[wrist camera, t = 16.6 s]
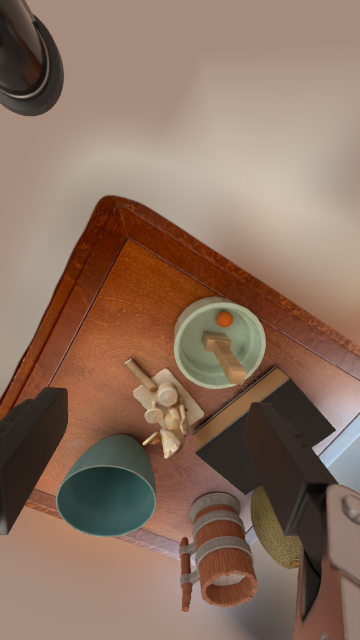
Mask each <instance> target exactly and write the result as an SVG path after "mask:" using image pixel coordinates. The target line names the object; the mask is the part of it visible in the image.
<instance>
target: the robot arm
mask: <svg viewBox="0 0 360 640" xmlns="http://www.w3.org/2000/svg"><path fill="white" fill-rule="evenodd" d="M50 74H51V62H50V56H49V52H48V49H47V47H46V44H45V42H44V40H43V39H42V37H41V35H40V33H39V25H38V23H37V21H36V19H35V18H34V16H33V14H32V12H31V10H30V8H29V6H28V5H27V3H26V1H25V0H0V91H1V92H2V93H4V94H5V95H7V96H9V97H11V98H13V99H16V100H21V101H27V100H32V99H34V98H36V97H38V96H39V95H40V94H42V92H43V91H44V90H45V89H46V87H47V85H48V82H49V79H50ZM67 424H68V392H67V389H66V388H54V387H45V388H44V389H43V390H42V391H41V392H40V393H39V394H38V395H37V396H36V398H35V399H34V400H33V399H27V400H26V401H24V402H22V403H21V404H19V405H17V406H16V407H14V408H13V409H12V410H11V411H10V412H9V413H8V414H7V415H6V416H5V417H4V418H3V419H2V421H0V535H8V533H9V531H10V530H11V528H12V526H13V524H14V523H15V521H16V519H17V517H18V516H19V514H20V512H21V510H22V509H23V507H24V505H25V503H26V501H27V500H28V498H29V496H30V494H31V493H32V491H33V489H34V487H35V485H36V484H37V482H38V480H39V478H40V477H41V475H42V473H43V471H44V469H45V468H46V466H47V464H48V462H49V461H50V459H51V457H52V455H53V453H54V452H55V450H56V448H57V446H58V445H59V443H60V441H61V439H62V437H63V436H64V433H65V431H66V428H67ZM243 436H244V442H245V445H246V448H247V450H248V452H249V455H250V457H251V459H252V462H253V464H254V466H255V468H256V471H257V473H258V475H259V478H260V480H261V482H262V485H263V487H264V489H265V492H266V494H267V496H268V499H269V501H270V503H271V506H272V508H273V510H274V512H275V515H276V517H277V519H278V522H279V524H280V526H281V529H282V531H283V533H284V536H298V537H299V539H300V541H301V543H302V547H301V549H300V557H299V573H298V588H297V602H296V617H295V628H294V635H293V640H360V494H359V493H357V492H356V491H354V490H352V489H350V488H348V487H345V486H343V485H339V484H338V482H337V481H336V480H335V478H334V477H333V476H332V475H331V474H330V472H329V471H328V469H327V468H326V467H325V465H324V464H323V463H322V461H321V460H320V459H319V458H318V456H317V455H316V454H315V452H314V451H313V450H312V448H311V447H309V445H308V443H307V442H306V441H305V439H304V438H302V435H301V434H300V433H299V432H298V430H297V429H296V428H295V426H294V425H293V424H292V423H290V422H289V421H288V420H287V419H286V418H284V417H283V416H280V415H279V414H278V413H277V411H276V410H275V408H274V407H273V406H272V405H271V404H270V403H262V402H252V403H251V405H250V408H249V412H248V415H247V419H246V423H245V427H244V432H243Z"/></svg>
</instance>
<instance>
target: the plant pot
mask: <svg viewBox="0 0 360 640" xmlns="http://www.w3.org/2000/svg"><path fill="white" fill-rule="evenodd" d="M56 506H57V509H58V512H59V514H60V516H61V517H62V518H63V520H64V521H65V522H66V523H67V524H69V525H70V526H71V527H73V528H74V529H76V530H78V531H80V532H82V533H85V534H88V535H92V536H99V537H115V536H121V535H125V534H128V533H131V532H133V531H135V530H137V529H139V528H140V527H142V526H143V525H144V524H145V523H147V522H148V520H149V519H150V518H151V516H152V515H153V513H154V511H155V507H156V486H155V478H154V473H153V469H152V466H151V463H150V460H149V458H148V455H147V454H146V452H145V450H144V449H143V447H142V446H141V445H140V444H139V443H138V441H136V440H135V439H134V438H133V437H131V436H129V435H126V434H115V435H111V436H109V437H106V438H104V439H102V440H100V441H99V442H97V443H95V444H94V445H93V446H91V447H90V448H89V449H88V450H87V451H86V452H85V453H84V454H83V455H82V456H81V457H80V458H79V459H78V460H77V461H76V463H75V464H74V465H73V466H72V468H71V469H70V471H69V472H68V474H67V475H66V477H65V478H64V480H63V482H62V483H61V485H60V487H59V489H58V492H57V495H56Z"/></svg>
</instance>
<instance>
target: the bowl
mask: <svg viewBox="0 0 360 640" xmlns="http://www.w3.org/2000/svg"><path fill="white" fill-rule="evenodd" d="M222 311H227V312H229V313H231V314H232V316H233V322H232V324H231V325H230V326H229V327H221V326H219V325H218V323H217V320H216V318H217V315H218V314H219V313H220V312H222ZM203 331H211V332H219V333H225V334H226V335H227V337H228V338H229V339H230V340H231V342H232V343H231V347H230V350H231V351H232V353H233V354H234V355H235V357H236V358H237V359H238V361H239V362H240V364H241V365H242V366H243V368H244V369H245V370H246V376H245V379H247V378H248V377H250V376H251V375H252V374H253V372H254V371H255V370H256V369H257V368H258V366H259V364H260V363H261V361H262V359H263V356H264V352H265V347H266V337H265V333H264V330H263V326H262V324H261V323H260V321H259V320H258V318H257V317H256V316H255V315H254V314H253V313H252V312H250V311H249V310H248V309H247V308H245V307H243V306H241V305H240V304H238V303H236V302H234V301H232V300H230V299H227V298H222V297H209V298H203V299H201V300H198V301H196V302H194V303H193V304H191V305H190V306H188V307H187V308H186V309H185V310H184V311H183V312H182V314H181V315H180V316H179V318H178V320H177V322H176V324H175V327H174V333H173V344H174V354H175V360H176V362H177V365H178V367H179V369H180V371H181V372H182V373H183V374H184V375H185V376H186V378H187V379H189V380H190V381H192V382H193V383H195V384H196V385H199V386H202V387H205V388H211V389H222V388H229V387H232V386H234V385H237V384H230V383H229V382H228V380H227V378H226V376H225V374H224V372H223V370H222V368H221V366H220V364H219V362H218V360H217V358H216V356H215V354H214V352H210V351H206V350H205V348H204V346H203V343H202V337H203Z"/></svg>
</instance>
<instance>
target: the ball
mask: <svg viewBox="0 0 360 640" xmlns="http://www.w3.org/2000/svg"><path fill="white" fill-rule="evenodd" d="M216 320H217V323H218V325H219V326H221V327H229V326H230V325H231V324H232V322H233V316H232V314H231V313H229V312H227V311H222V312H220V313H219V314H218V315H217V318H216Z"/></svg>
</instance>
